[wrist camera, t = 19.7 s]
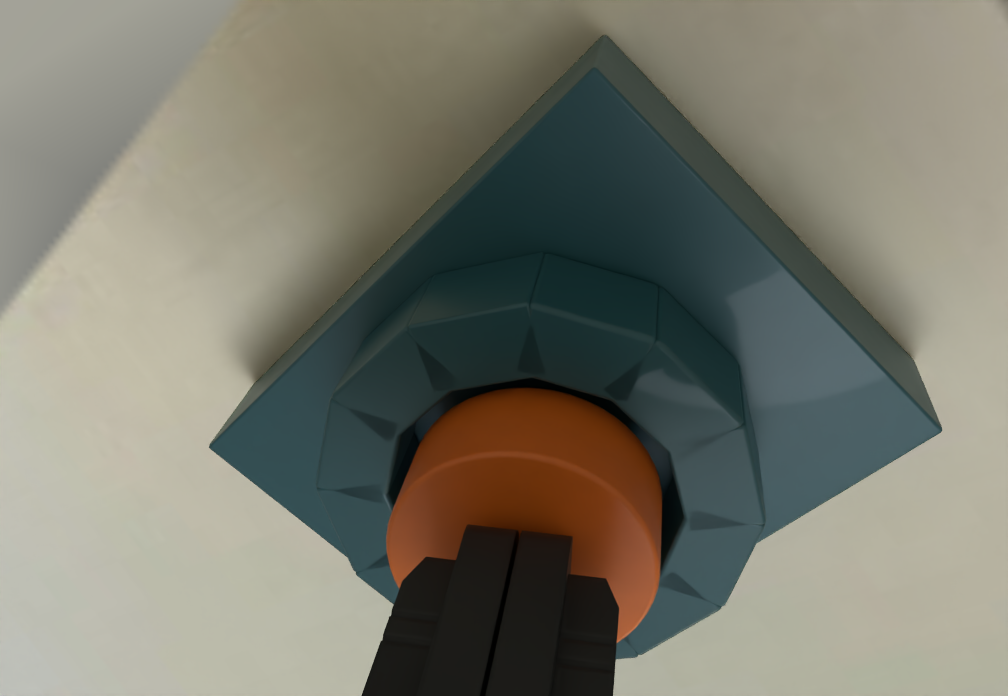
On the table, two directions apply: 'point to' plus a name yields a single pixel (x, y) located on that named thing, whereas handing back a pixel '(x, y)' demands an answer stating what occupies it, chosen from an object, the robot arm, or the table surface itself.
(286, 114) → the table surface
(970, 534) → the table surface
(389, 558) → the button
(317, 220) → the table surface
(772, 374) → the control block
